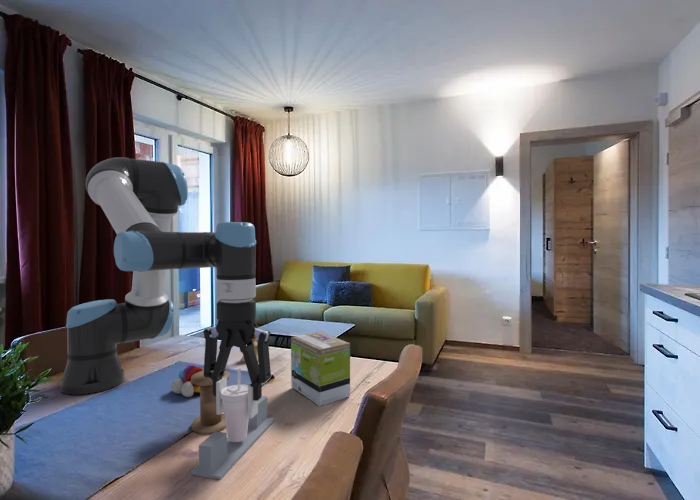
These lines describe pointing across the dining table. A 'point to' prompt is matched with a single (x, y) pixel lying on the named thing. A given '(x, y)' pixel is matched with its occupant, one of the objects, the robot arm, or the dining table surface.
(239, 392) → the smoothie
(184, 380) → the rainbow toy
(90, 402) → the dining table surface
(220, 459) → the board with upright blocks
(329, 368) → the tea box
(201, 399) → the bobbin
